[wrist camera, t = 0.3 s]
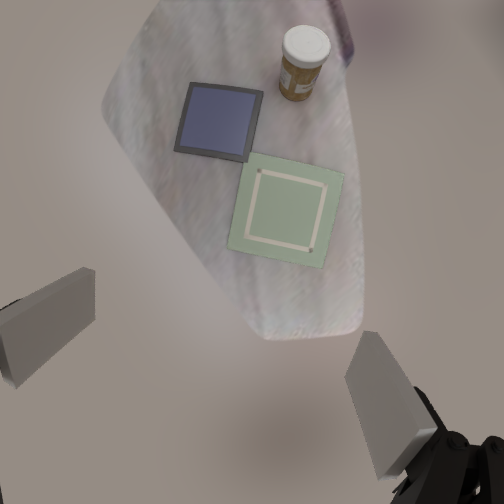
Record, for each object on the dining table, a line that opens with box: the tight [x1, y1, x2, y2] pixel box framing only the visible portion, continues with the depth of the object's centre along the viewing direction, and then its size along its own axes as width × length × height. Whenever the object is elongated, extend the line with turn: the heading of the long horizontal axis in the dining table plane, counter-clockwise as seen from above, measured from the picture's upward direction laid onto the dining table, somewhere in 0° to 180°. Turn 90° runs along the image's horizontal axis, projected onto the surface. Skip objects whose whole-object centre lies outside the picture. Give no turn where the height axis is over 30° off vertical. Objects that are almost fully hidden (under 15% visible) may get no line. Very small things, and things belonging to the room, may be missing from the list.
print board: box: [227, 152, 345, 269], centre depth 37 cm, size 13×13×1 cm
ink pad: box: [174, 82, 263, 163], centre depth 35 cm, size 10×10×1 cm
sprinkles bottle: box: [279, 25, 331, 101], centre depth 28 cm, size 5×5×13 cm
